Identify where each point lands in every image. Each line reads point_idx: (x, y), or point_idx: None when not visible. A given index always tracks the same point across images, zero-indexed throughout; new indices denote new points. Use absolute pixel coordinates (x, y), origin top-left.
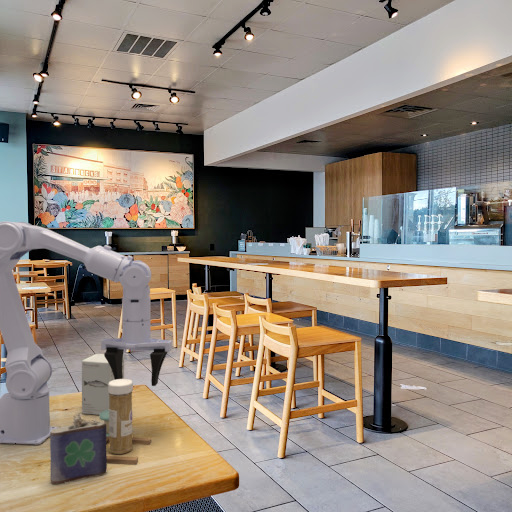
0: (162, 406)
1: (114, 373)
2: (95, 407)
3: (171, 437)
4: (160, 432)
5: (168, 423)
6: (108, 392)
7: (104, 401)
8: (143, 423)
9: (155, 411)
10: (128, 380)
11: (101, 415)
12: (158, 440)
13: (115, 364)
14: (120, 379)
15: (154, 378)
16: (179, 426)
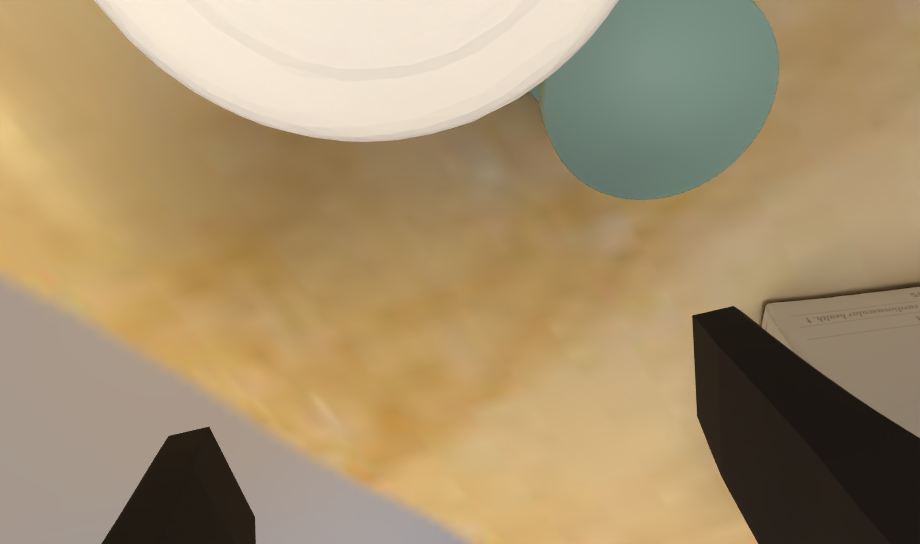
0: (479, 537)
1: (826, 399)
2: (911, 322)
3: (77, 141)
4: (229, 194)
5: (274, 345)
6: None
7: (862, 368)
8: (458, 286)
9: (483, 467)
10: (212, 8)
11: (738, 10)
12: (141, 52)
13: (891, 525)
14: (472, 25)
15: (129, 514)
16: (159, 330)
